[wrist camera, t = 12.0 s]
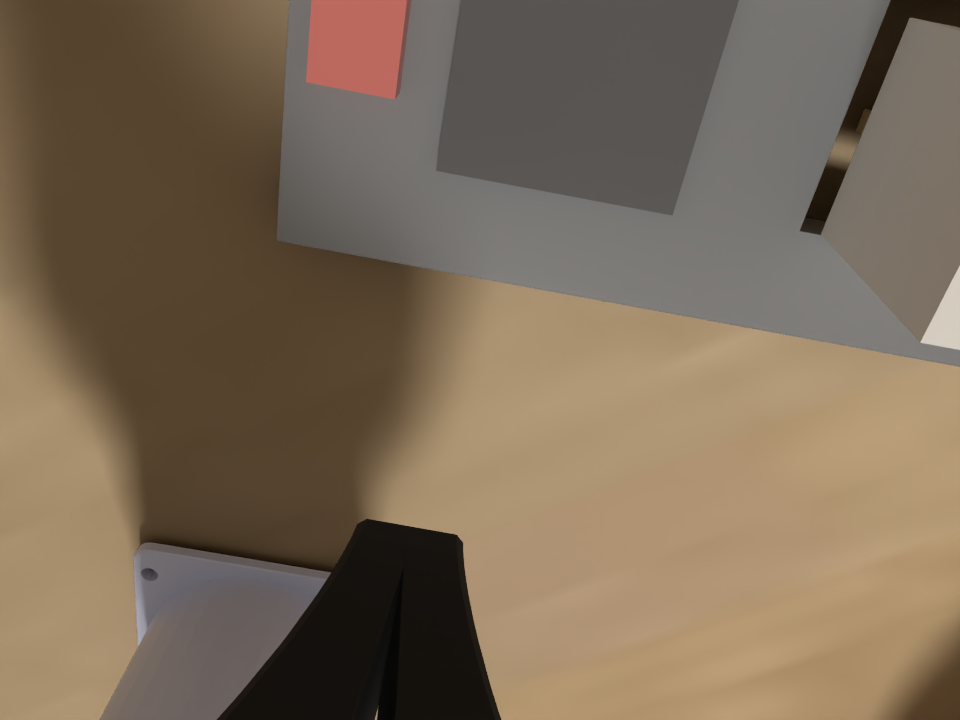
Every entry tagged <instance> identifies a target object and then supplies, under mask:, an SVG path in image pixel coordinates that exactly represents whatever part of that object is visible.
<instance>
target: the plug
mask: <svg viewBox="0 0 960 720" xmlns="http://www.w3.org/2000/svg"><path fill="white" fill-rule="evenodd" d="M855 132H857V133H858V134H860V135H861V138H860V140H859V143H858V145H857V148H856V150H855V152H854V155H853V157H852V160H851V162H850V165H849V167H848V169H847V172H846V174H845V177H844V179H843V182H842V184H841V186H840V189H839V191H838V194H837V196H836V199H835V201H834V204H833V206H832V208H831V211H830V213H829V216H828V218H827V221H826V223H825V225H824V228H823V230H822V233H821V235H822V236H823V237H824V238H825V239H826V241H827V242H828V243H829V244H830V245H831V246H832V247H833V248H834V249H835V250H836V251H837V253H838V254H839V255H840V256H841V257H842V258H843V259H844V260H845V261H846V262H847V263H848V265H849V266H850V267H851V268H852V269H853V270H854V271H855V272H856V273H857V274H858V275H859V276H860V278H861V279H862V280H863V281H864V282H865V283H866V284H867V285H868V286H869V287H870V288H871V290H872V291H873V292H874V293H875V294H876V295H877V296H878V297H879V298H880V299H881V300H882V302H883V303H884V304H885V305H886V306H887V307H888V308H889V309H890V310H891V311H892V312H893V314H894V315H895V316H896V317H897V318H898V319H899V320H900V321H901V322H902V323H903V324H904V326H905V327H906V328H907V329H908V330H909V331H910V332H911V333H912V334H913V335H914V336H915V338H916V339H917V340H918V341H919V342H920V343H925V344H930V345H935V346H941V347H946V348H952V349H957V350H960V27H955V26H950V25H945V24H940V23H935V22H930V21H925V20H920V19H916V18H911V17H910V18H909V21H908V23H907V26H906V28H905V31H904V33H903V35H902V38H901V40H900V43H899V45H898V48H897V50H896V53H895V55H894V57H893V60H892V62H891V65H890V67H889V70H888V72H887V74H886V77H885V79H884V82H883V84H882V87H881V89H880V91H879V94H878V96H877V99H876V101H875V104H874V106H873V109H872V110H867V109H864V112H863V114H862V117H861V119H860V121H859V124H858V126H857V129H856V131H855Z"/></svg>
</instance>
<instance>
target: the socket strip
mask: <svg viewBox="0 0 960 720" xmlns="http://www.w3.org/2000/svg"><path fill="white" fill-rule="evenodd" d="M890 1H891V0H289V14H288V32H287V51H286V70H285V88H284V107H283V125H282V144H281V163H280V181H279V200H278V219H277V237H276V241H280V242H285V243H290V244H296V245H301V246H307V247H312V248H318V249H323V250H329V251H334V252H339V253H345V254H350V255H356V256H361V257H367V258H372V259H377V260H383V261H388V262H394V263H399V264H405V265H410V266H415V267H421V268H426V269H432V270H437V271H443V272H448V273H453V274H459V275H464V276H470V277H475V278H481V279H486V280H491V281H497V282H502V283H508V284H513V285H519V286H524V287H529V288H535V289H540V290H546V291H551V292H557V293H562V294H567V295H573V296H578V297H584V298H589V299H595V300H600V301H605V302H611V303H616V304H622V305H627V306H633V307H638V308H643V309H649V310H654V311H660V312H665V313H671V314H676V315H681V316H687V317H692V318H698V319H703V320H709V321H714V322H719V323H725V324H730V325H736V326H741V327H747V328H752V329H758V330H763V331H768V332H774V333H779V334H785V335H790V336H796V337H801V338H806V339H812V340H817V341H823V342H828V343H834V344H839V345H844V346H850V347H855V348H861V349H866V350H872V351H877V352H882V353H888V354H893V355H899V356H904V357H910V358H915V359H920V360H926V361H931V362H937V363H942V364H948V365H953V366H958V367H960V350H957V349H952V348H946V347H941V346H935V345H930V344H925V343H920V342H919V341H918V340H917V339H916V338H915V336H914V335H913V334H912V333H911V332H910V331H909V330H908V329H907V328H906V327H905V326H904V324H903V323H902V322H901V321H900V320H899V319H898V318H897V317H896V316H895V315H894V314H893V312H892V311H891V310H890V309H889V308H888V307H887V306H886V305H885V304H884V303H883V302H882V300H881V299H880V298H879V297H878V296H877V295H876V294H875V293H874V292H873V291H872V290H871V288H870V287H869V286H868V285H867V284H866V283H865V282H864V281H863V280H862V279H861V278H860V276H859V275H858V274H857V273H856V272H855V271H854V270H853V269H852V268H851V267H850V266H849V265H848V263H847V262H846V261H845V260H844V259H843V258H842V257H841V256H840V255H839V254H838V253H837V251H836V250H835V249H834V248H833V247H832V246H831V245H830V244H829V243H828V242H827V241H826V239H825V238H824V237H823V236H822V235H821V233H822V230H823V228H824V225H825V223H826V221H822V220H816V219H811V218H806V217H805V216H806V213H807V211H808V208H809V206H810V203H811V201H812V198H813V196H814V193H815V191H816V188H817V185H818V183H819V180H820V178H821V175H822V173H823V170H824V168H825V165H826V163H827V160H828V158H829V155H830V153H831V150H832V148H833V145H834V142H835V140H836V137H837V135H838V132H839V130H840V127H841V125H842V122H843V120H844V117H845V115H846V112H847V110H848V107H849V104H850V102H851V99H852V97H853V94H854V92H855V89H856V87H857V84H858V82H859V79H860V77H861V74H862V72H863V69H864V66H865V64H866V61H867V59H868V56H869V54H870V51H871V49H872V46H873V44H874V41H875V39H876V36H877V34H878V31H879V29H880V26H881V23H882V21H883V18H884V16H885V13H886V11H887V8H888V6H889V3H890Z"/></svg>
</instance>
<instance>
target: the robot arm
mask: <svg viewBox="0 0 960 720" xmlns="http://www.w3.org/2000/svg"><path fill="white" fill-rule="evenodd" d="M133 564H134V584H135V604H136V623H137V643H138V648H137V650H136V652H135V654H134V656H133V657H132V659H131V661H130V663H129V665H128V667H127V669H126V671H125V672H124V674H123V676H122V678H121V680H120V682H119V684H118V686H117V688H116V689H115V691H114V693H113V695H112V697H111V699H110V701H109V703H108V704H107V706H106V708H105V710H104V712H103V714H102V716H101V718H100V720H375V716H376V712H377V709H378V717H377V720H501V717H500V715H499V712H498V709H497V705H496V702H495V699H494V696H493V692H492V689H491V686H490V682H489V679H488V675H487V671H486V668H485V664H484V660H483V657H482V653H481V649H480V645H479V642H478V638H477V633H476V629H475V625H474V621H473V616H472V611H471V606H470V601H469V595H468V589H467V583H466V576H465V569H464V558H463V542H462V541H461V540H460V538H459V537H458V536H457V535H455V534H449V533H443V532H438V531H432V530H427V529H421V528H415V527H410V526H404V525H398V524H393V523H387V522H381V521H376V520H370V519H366V520H364V521H362V522H360V523H358V524H357V526H356V528H355V531H354V533H353V535H352V537H351V539H350V541H349V543H348V545H347V547H346V549H345V550H344V552H343V554H342V556H341V557H340V559H339V561H338V563H337V564H336V566H335V567H334V569H333V571H332V572H325V571H319V570H313V569H307V568H301V567H295V566H289V565H284V564H278V563H272V562H266V561H260V560H254V559H248V558H242V557H236V556H230V555H224V554H218V553H212V552H206V551H200V550H194V549H188V548H182V547H176V546H170V545H164V544H158V543H144V544H142V545H141V546H140V547H139V548H138V549H137V551H136V552H135V554H134V558H133ZM149 568H150V569H153V570H154V571H155V572H154V571H152V570H150V569H149ZM378 705H379V707H378Z"/></svg>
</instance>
